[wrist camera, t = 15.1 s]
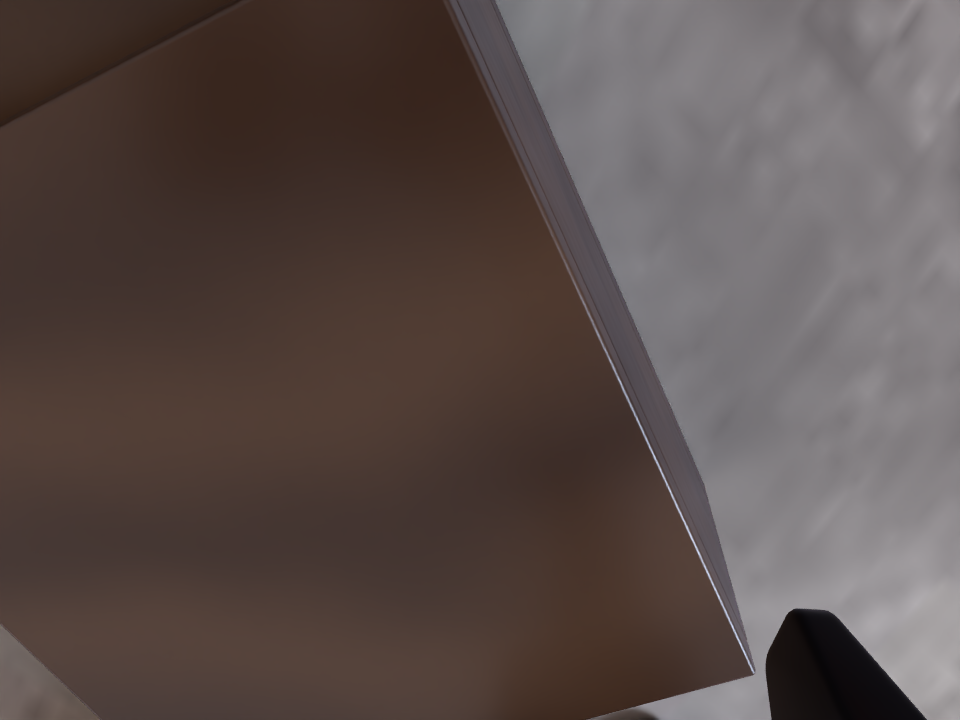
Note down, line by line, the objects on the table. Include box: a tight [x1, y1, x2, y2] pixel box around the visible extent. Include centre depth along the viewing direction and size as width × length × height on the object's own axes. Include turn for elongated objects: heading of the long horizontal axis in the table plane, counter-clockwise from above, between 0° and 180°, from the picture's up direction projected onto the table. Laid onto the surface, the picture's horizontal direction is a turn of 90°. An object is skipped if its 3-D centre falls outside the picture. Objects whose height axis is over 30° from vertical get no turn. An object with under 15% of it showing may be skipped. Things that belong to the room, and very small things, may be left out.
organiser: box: [0, 0, 755, 720], centre depth 19 cm, size 16×14×6 cm
